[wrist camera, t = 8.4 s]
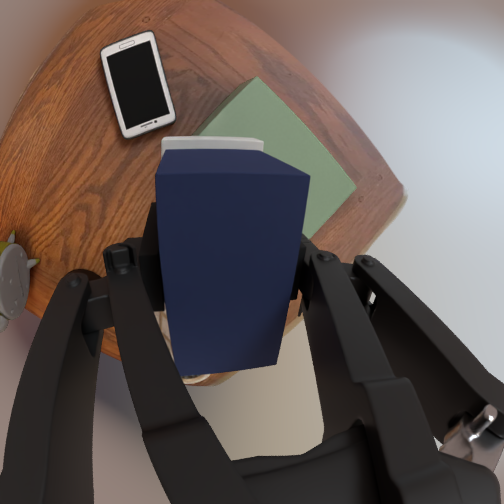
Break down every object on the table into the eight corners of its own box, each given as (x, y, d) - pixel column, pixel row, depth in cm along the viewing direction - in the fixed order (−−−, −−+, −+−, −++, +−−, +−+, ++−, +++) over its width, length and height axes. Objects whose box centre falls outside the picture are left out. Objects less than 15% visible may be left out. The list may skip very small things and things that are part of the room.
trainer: (163, 136, 14) (147, 157, 7) (254, 137, 15) (318, 160, 8) (173, 319, 20) (181, 411, 13) (240, 314, 21) (271, 399, 14)
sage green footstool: (241, 83, 32) (256, 75, 26) (329, 174, 42) (357, 187, 35) (172, 157, 35) (171, 167, 28) (271, 236, 45) (289, 260, 38)
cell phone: (153, 29, 25) (152, 27, 24) (178, 121, 33) (178, 122, 32) (100, 50, 24) (98, 48, 24) (125, 141, 32) (123, 142, 31)
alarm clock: (7, 224, 31) (-40, 271, 18) (37, 228, 33) (-8, 279, 20) (16, 283, 36) (-17, 338, 23) (44, 288, 38) (15, 347, 25)
